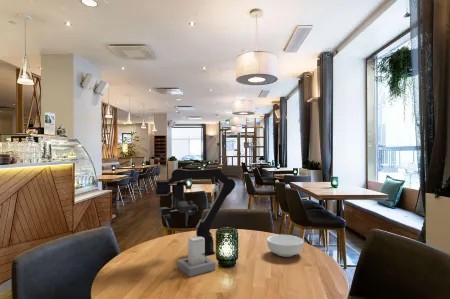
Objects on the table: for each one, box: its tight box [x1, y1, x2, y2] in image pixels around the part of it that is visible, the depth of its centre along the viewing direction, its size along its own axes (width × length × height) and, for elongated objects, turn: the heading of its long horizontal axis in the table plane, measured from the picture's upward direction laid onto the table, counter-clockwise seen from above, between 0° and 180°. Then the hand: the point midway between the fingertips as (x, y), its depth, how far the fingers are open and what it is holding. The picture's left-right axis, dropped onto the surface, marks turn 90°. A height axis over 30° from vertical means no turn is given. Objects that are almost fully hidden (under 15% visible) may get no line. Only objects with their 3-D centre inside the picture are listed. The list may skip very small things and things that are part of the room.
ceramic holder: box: [176, 256, 217, 278], centre depth 121 cm, size 12×12×3 cm
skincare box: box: [187, 236, 206, 266], centre depth 121 cm, size 6×4×12 cm
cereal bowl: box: [266, 234, 304, 258], centre depth 137 cm, size 17×17×7 cm
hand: (178, 227), depth 138 cm, fingers open, 9 cm apart
